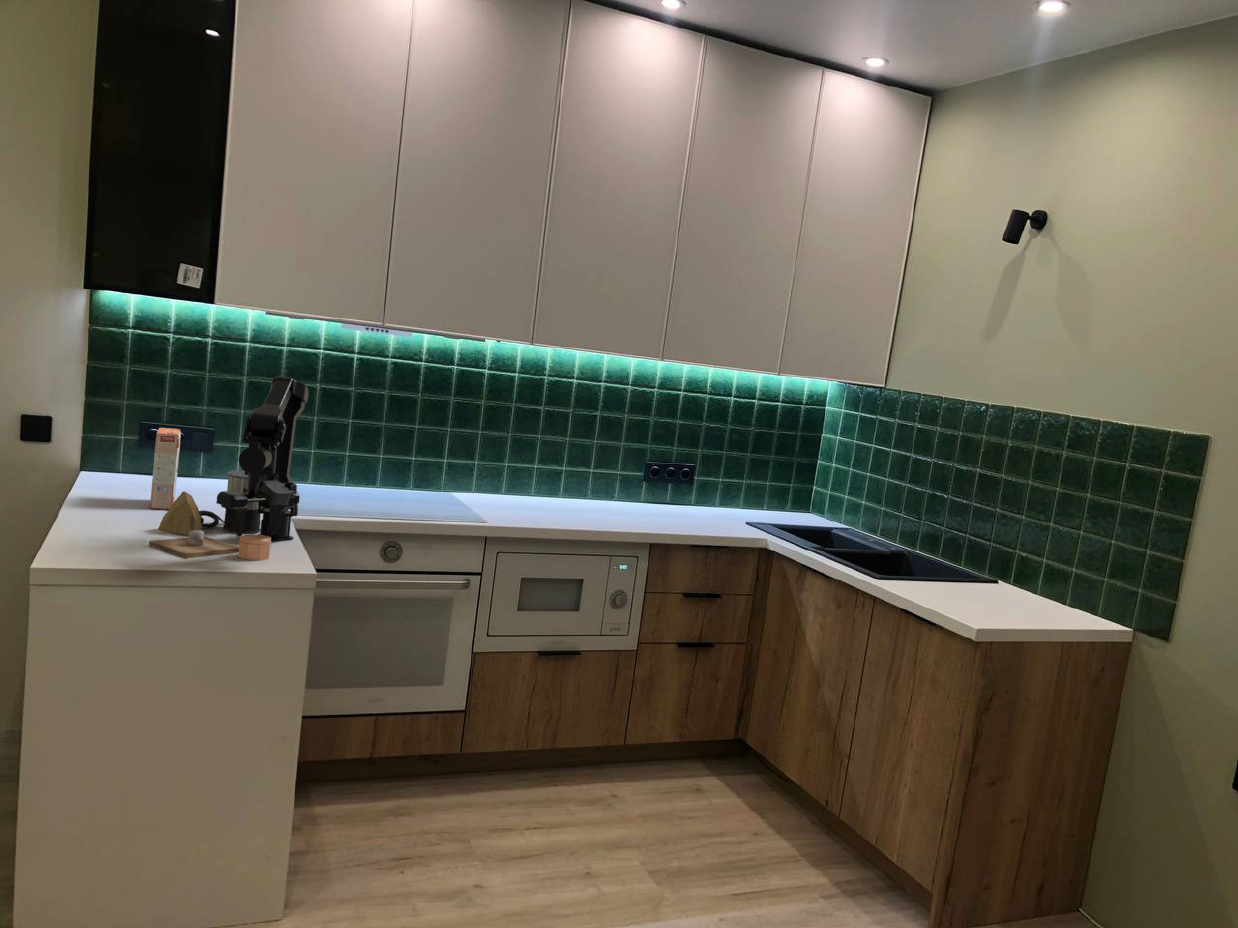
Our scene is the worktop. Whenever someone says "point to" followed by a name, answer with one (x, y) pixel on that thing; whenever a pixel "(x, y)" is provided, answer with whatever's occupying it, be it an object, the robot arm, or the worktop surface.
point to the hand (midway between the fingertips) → (256, 534)
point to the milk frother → (251, 515)
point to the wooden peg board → (194, 545)
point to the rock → (182, 516)
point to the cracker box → (165, 468)
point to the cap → (254, 547)
